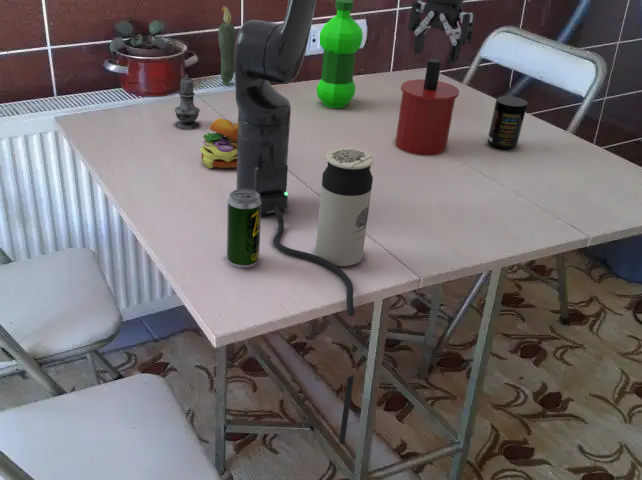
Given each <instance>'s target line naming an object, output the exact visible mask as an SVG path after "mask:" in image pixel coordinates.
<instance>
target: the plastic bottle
mask: <svg viewBox="0 0 642 480" xmlns="http://www.w3.org/2000/svg"><path fill="white" fill-rule="evenodd" d="M354 2H355V1H354V0H335V4H334V5H335V6H334V9H335V10H336V15H335V16H333V17H332V18H331V19H329V20H328V21H327V22H326V23H325V24H323V26H322V28H321V31H320V32H319V45H320V47H321V49H323V54H322V67H321V68H322V69H321V77H320V80H319V82H318V84H317V86H316V94H317V97H318V99H319V101H321V102H322V103H323V104H324V106H326V107H327V108H332V109H341V108H344V107H345V106H347V104H349V103H350V102H351V101H353V98H354V96H355V93H356V88H357V87H356V84H355V81H354V78H353V77H354V73H355V72H354V70H355V61H356V52H358V51H359V50H360V48H361V45H362V43H363V37H364V33H363V29H362V27H361V26H360V25H359V24H358V23H357V21H356V20H355V19H354V18H353V17H352V16H351V11H353V9H354V4H355V3H354Z"/></svg>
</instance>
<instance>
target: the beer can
mask: <svg viewBox="0 0 642 480" xmlns="http://www.w3.org/2000/svg"><path fill="white" fill-rule="evenodd" d="M261 219H262V216H261V199H260V194H259V193H258V192H256V191H254V190H251V189H237V188H236V189H234V190H233V191H230V193H229V197H228V199H227V221H226V223H227V225H226V226H227V229H226V231H227V232H226V259H227V261H228V263H229V265H231V266H232V267H235V268H239V269H248V268H249V269H250V268H252V267H255V265H256V264H257V263H258V261H259V260H260V245H261V244H260V243H261V223H262V222H261V221H262V220H261Z"/></svg>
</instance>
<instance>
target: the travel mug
mask: <svg viewBox="0 0 642 480" xmlns="http://www.w3.org/2000/svg"><path fill="white" fill-rule="evenodd" d="M325 159H326V161H327V166H326V168H325V169H324V171H323V172H322V177H321V178H322V179H321V187H320V188H321V189H320V199H319V210H318V211H319V212H318V220H317V221H318V222H317V234H316V242H315V243H316V244H315V255H316V256H318V257H320V258H322V259H324V260H326V261H328V262H330V263H332V264H334V265H335V266H337V267H349V266H353V265H356V264H359V263H360V262H361V261H362V259H363V256H364V248H365V242H366V233H367V225H368V218H369V212H370V211H369V210H370V203H371V196H372V190H373V189H372V188H373V180H374V177H373V174H372V172H371V167H372V165H373V163H374V161H375V159H374V156H373V155H372V154H370V152H367V151H365V150H362V149H359V148H353V147H352V148H351V147H339V148H333V149H331V150H329V151H328V152H327V153H326V154H325Z"/></svg>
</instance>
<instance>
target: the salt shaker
mask: <svg viewBox="0 0 642 480" xmlns="http://www.w3.org/2000/svg"><path fill="white" fill-rule="evenodd" d="M179 83H180V84H179V85H180V87H179V89H180V92H178V95H179V96H180V98H179V100H180V103H179V106H177V107H175V108H174V113H175V116H176V118H177V120H178V121H177V122H176V123H175V126H176V127H177V128H179V129H182V130H193V129H197V128H198V127H199V126H200V125H199V122H197V121H196V120H197V119H198V117H199V115H200V114H199V113H200V112H201V110H200V108H199V107H197V106H195V102H194V99H195V98H194V96H195V95H196V93H195V92H194V81H193V79H192V78H191V77H189V75H188V73H186V74H185V75H184V77H182V78H181V79H180V81H179Z"/></svg>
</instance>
